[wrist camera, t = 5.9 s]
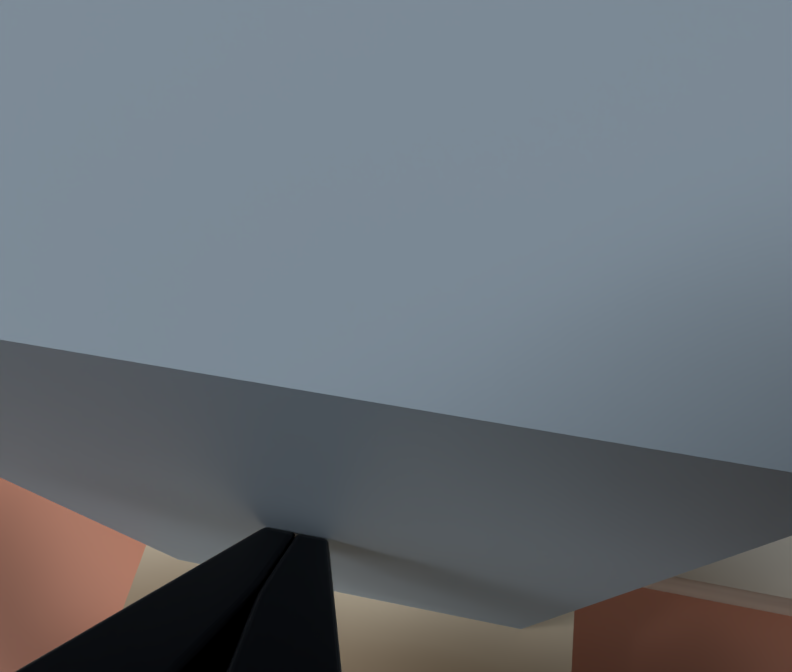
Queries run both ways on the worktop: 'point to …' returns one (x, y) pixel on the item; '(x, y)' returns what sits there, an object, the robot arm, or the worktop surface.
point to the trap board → (407, 609)
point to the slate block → (405, 284)
